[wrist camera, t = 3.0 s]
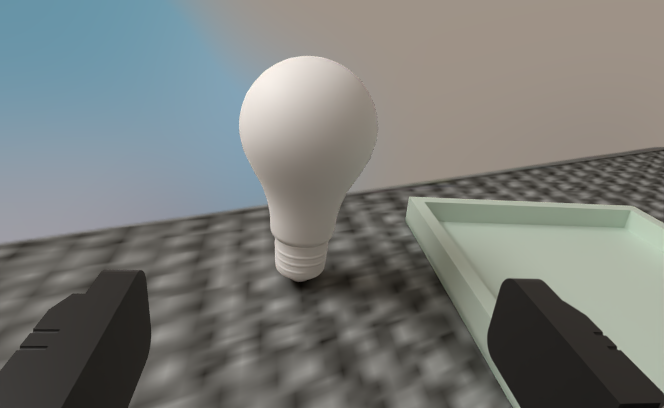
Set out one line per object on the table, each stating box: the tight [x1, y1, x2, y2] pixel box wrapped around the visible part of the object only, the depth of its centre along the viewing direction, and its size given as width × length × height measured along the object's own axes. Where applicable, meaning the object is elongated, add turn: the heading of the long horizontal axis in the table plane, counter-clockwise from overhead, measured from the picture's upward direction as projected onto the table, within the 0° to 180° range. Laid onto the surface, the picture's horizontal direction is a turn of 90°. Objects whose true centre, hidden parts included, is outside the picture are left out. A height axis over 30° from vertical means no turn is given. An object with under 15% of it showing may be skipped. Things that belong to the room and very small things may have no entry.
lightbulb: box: [239, 56, 378, 282], centre depth 20 cm, size 6×6×11 cm
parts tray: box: [405, 197, 664, 408], centre depth 23 cm, size 17×17×2 cm
